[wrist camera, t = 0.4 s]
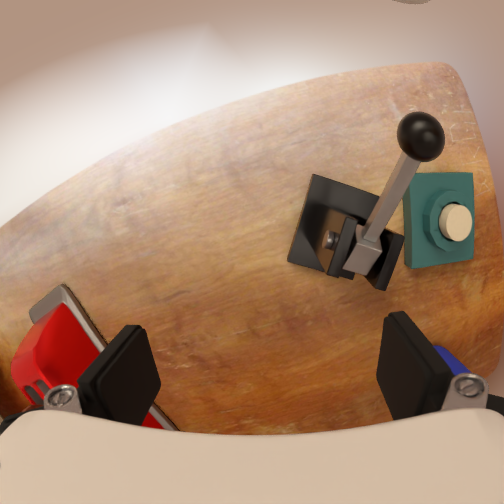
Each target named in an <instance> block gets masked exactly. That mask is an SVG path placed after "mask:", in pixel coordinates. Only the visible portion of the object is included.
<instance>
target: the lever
mask: <svg viewBox="0 0 504 504" xmlns="http://www.w3.org/2000/svg"><path fill="white" fill-rule="evenodd" d="M397 139H398V143H399V145H400V147H401V149H402V151H403V152H402V154H401V156H400V158H399V160H398V162H397V164H396V166H395V168H394V170H393V172H392V174H391V176H390V178H389V180H388V182H387V184H386V186H385V188H384V190H383V192H382V194H381V196H380V198H379V200H378V202H377V203H376V205H375V207H374V209H373V211H372V213H371V215H370V217H369V218H368V220H367V222H366V224H365V226H361V225H358V224H357V227H356V230H355V233H354V236H353V239H352V242H351V245H350V248H349V251H348V254H347V256H346V259H345V262H344V265H343V268H342V269H345V270H348V271H352V272H355V273H358V274H362V275H365V276H366V275H367V274H368V272H369V271H370V269H371V268H372V266H373V265H374V264H375V262H376V261H377V259H378V258H379V256H380V255H381V253H382V247H381V242H380V237H379V236H380V235H381V233H382V231H383V230H384V228H385V226H386V225H387V223H388V221H389V219H390V218H391V216H392V214H393V213H394V211H395V209H396V207H397V206H398V204H399V202H400V200H401V198H402V197H403V195H404V193H405V191H406V189H407V188H408V186H409V184H410V182H411V180H412V178H413V176H414V174H415V173H416V171H417V169H418V167H419V165H420V163H421V162H429V161H432V160H434V159H436V158H437V157H438V156H439V155H440V154H441V152H442V151H443V149H444V145H445V134H444V131H443V128H442V126H441V124H440V123H439V122H438V121H437V120H436V119H435V118H434V117H433V116H431V115H430V114H427V113H424V112H412V113H409V114H407V115H406V116H405V117H403V118H402V120H401V121H400V123H399V125H398V129H397Z"/></svg>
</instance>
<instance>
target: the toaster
mask: <svg viewBox="0 0 504 504" xmlns="http://www.w3.org/2000/svg"><path fill="white" fill-rule="evenodd" d="M29 315H30V318H31V320H32V322H33V324H34V325H33V326H32V328H31V329H30V330H29V332H28V333H27V335H26V336H25V337H24V339H23V340H22V342H21V343H20V345H19V347H18V349H17V351H16V353H15V355H14V357H13V360H12V362H11V376H12V378H13V380H14V382H15V384H16V385H17V386H18V388H19V389H20V390H21V392H22V393H23V394H24V396H25V397H26V398H27V399H28V401H29V402H30V403H31V404H32V405H29V406H28V407H27V408H25V409H24V410H23V411H22V412H24V411H28V410H31V409H34V408H38V407H41V406H44V396H45V395H46V393H47V392H48V391H49V390H50V389H52V388H54V387H56V386H58V385H63V384H68V385H72V386H74V387H75V388H76V389H77V388H78V386H79V385H78V383H77V381H76V380H77V379H78V378H79V377H80V376H81V375H82V373H83V372H84V371H85V370H86V369H87V368H88V367H89V365H90V364H91V363H92V362H93V361H94V360H95V359H96V358H97V356H98V355H99V354H100V353H101V352H102V351H103V350H104V349H105V348H106V346H107V344H106V343H105V341H104V340H103V339H102V337H101V336H100V334H99V333H98V332H97V330H96V329H95V327H94V326H93V324H92V323H91V321H90V320H89V318H88V317H87V315H86V314H85V312H84V310H83V309H82V307H81V306H80V304H79V303H78V301H77V300H76V298H75V297H74V295H73V294H72V293H71V291H70V290H69V289H68V288H67V287H66V286H65V285H63V284H61V285H58V286H57V287H56V288H55V289H53V290H52V291H51V292H50V293H49V294H47V295H46V296H45V297H44V298H43V299H42V300H40V301H39V302H38V303H37V304H36V305H35V306H33V307H32V308H31V309H30V310H29ZM141 426H143V427H149V428H156V429H164V430H172V431H179V430H178V429H177V428H176V427H175V426H174V425H173V423H172V422H171V421H170V420H169V419H168V418H167V417H166V416H165V415H164V414H163V413H162V411H161V410H160V409H159V408H158V407H157V406H156V405H155V404H154V403H153V404H152V405H151V407H150V409H149V411H148V413H147V415H146V417H145V419H144V421H143V423H142V425H141Z"/></svg>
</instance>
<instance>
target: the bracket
mask: <svg viewBox="0 0 504 504" xmlns="http://www.w3.org/2000/svg"><path fill="white" fill-rule="evenodd" d="M379 198H380V197H379V196H377V195H374V194H371V193H368V192H366V191H363V190H360V189H357V188H355V187H352V186H349V185H346V184H343V183H340V182H337V181H334V180H331V179H328V178H325V177H322V176H319V175H316V174H312V177H311V180H310V184H309V187H308V191H307V194H306V197H305V201H304V204H303V208H302V211H301V214H300V218H299V221H298V224H297V227H296V231H295V234H294V237H293V240H292V244H291V247H290V250H289V253H288V257H287V262H291V263H294V264H298V265H301V266H305V267H308V268H312V269H315V270H319V271H322V272H326V274H327V275H329V276H333V277H336V278H339V276H340V277H344V278H347V279H351V280H353V278H354V275H355V272H352V271H348V270H345V269H342V268H343V265H344V262H345V259H346V256H347V254H348V251H349V248H350V245H351V242H352V239H353V236H354V233H355V230H356V227H357V224H358V225H361V226H365V224H366V222H367V220H368V218H369V217H370V215H371V213H372V211H373V209H374V207H375V205H376V203H377V202H378V200H379ZM379 237H380V242H381V247H382V253H381V255H380V256H379V258H378V259H377V261H376V262H375V264H374V265H373V266H372V268H371V269H370V271H369V272H368V274H367V275H366V276H365V275H363V276H364V277H365V278H366V279H367V280H368V281H369V282H370V283H371V285H372V286H373V287H374V288H375V289H379V290H382V291H386V288H387V286H388V283H389V281H390V278H391V276H392V273H393V270H394V268H395V265H396V262H397V260H398V257H399V254H400V251H401V248H402V246H403V243H404V240H405V236H403V235H401V234H399V233H396V232H394V231H392V230H390V229H388V228H386V227H385V228H384V230H383V231H382V233H381V235H380V236H379Z"/></svg>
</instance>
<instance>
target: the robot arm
mask: <svg viewBox="0 0 504 504" xmlns="http://www.w3.org/2000/svg"><path fill="white" fill-rule="evenodd" d="M376 376H377V381H378V384H379V386H380V388H381V391H382V393H383V396H384V398H385V400H386V403H387V405H388V407H389V410H390V412H391V415H392V417H393V420H394V421H390V422H385V423H380V424H375V425H369V426H363V427H357V428H350V429H342V430H334V431H325V432H315V433H302V434H284V435H222V434H205V433H192V432H181V431H172V430H164V429H156V428H149V427H143V426H141V425H142V423H143V421H144V419H145V417H146V415H147V413H148V411H149V409H150V407H151V405H152V404H153V402H154V400H155V398H156V396H157V394H158V392H159V390H160V387H161V381H160V378H159V374H158V371H157V368H156V365H155V361H154V358H153V355H152V351H151V348H150V344H149V341H148V337H147V333H146V331H145V329H142V327H141V326H140V325H126V326H125V327H124V328H123V329H122V330H121V331H120V332H119V333H118V334H117V335H116V337H115V338H114V339H113V340H112V341H111V342H110V343H109V344H108V345H107V346H106V348H105V349H104V350H103V351H102V352H101V353H100V354H99V355H98V356H97V358H96V359H95V360H94V361H93V362H92V363H91V364H90V365H89V367H88V368H87V369H86V370H85V371H84V372H83V373H82V375H81V376H80V377H79V378H78V379H77V380H76V381H77V383H78V385H79V386H78V388H77V389H76V388H75V387H74V386H72V385H68V384H63V385H58V386H56V387H54V388H52V389H50V390H49V391H48V392H47V393H46V395H45V396H44V406H41V407H38V408H34V409H31V410H28V411H24V412H21V413H17V414H13V415H9V416H7V417H6V418H5V419H4V420H3V422H2V423H1V425H0V504H504V398H503V397H499V396H495V395H491V394H488V391H489V386H488V383H487V382H486V380H485V379H484V378H483V377H481V376H479V375H477V374H474V373H461V374H458V375H456V376H455V375H454V373H453V372H452V371H451V368H450V367H449V366H448V364H447V363H446V362H445V361H444V359H443V358H442V357H441V355H440V354H439V353H438V352H437V350H436V349H435V348H434V347H433V345H432V344H431V343H430V342H429V340H428V339H427V338H426V337H425V336H424V334H423V333H422V332H421V331H420V329H419V328H418V327H417V326H416V325H415V323H414V322H413V321H412V320H411V319H410V318H409V316H408V315H407V314H406V313H405V312H404V311H399V312H391V313H389V315H388V317H385V318H384V324H383V332H382V340H381V347H380V354H379V361H378V367H377V373H376Z"/></svg>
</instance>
